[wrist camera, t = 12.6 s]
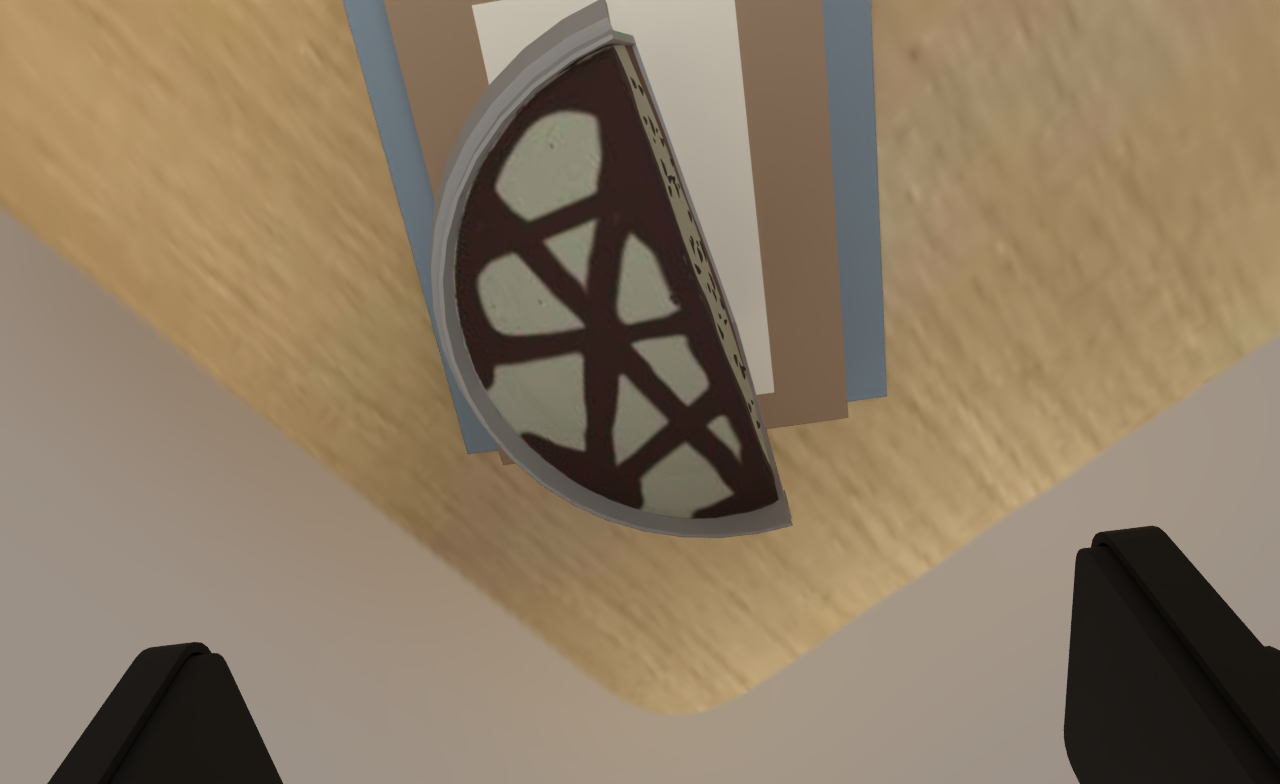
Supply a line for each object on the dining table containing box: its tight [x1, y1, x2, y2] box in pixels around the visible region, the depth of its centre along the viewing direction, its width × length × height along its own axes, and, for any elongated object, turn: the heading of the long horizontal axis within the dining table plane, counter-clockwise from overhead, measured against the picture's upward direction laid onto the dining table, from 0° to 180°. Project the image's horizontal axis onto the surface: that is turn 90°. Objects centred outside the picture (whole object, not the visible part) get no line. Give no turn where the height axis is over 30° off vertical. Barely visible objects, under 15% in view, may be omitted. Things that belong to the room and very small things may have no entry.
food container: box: [430, 0, 793, 538], centre depth 24 cm, size 12×6×10 cm, turn 21°
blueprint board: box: [343, 0, 887, 465], centre depth 30 cm, size 16×18×4 cm
